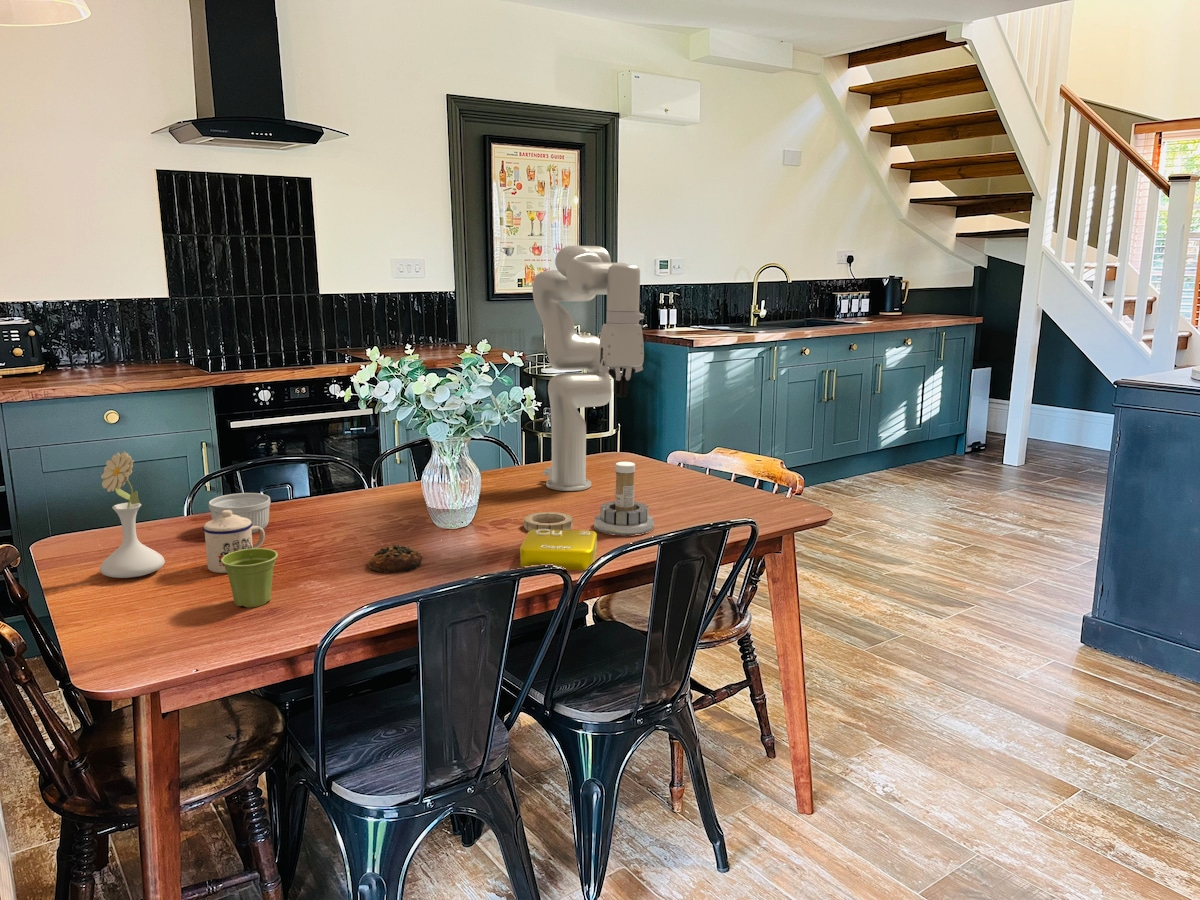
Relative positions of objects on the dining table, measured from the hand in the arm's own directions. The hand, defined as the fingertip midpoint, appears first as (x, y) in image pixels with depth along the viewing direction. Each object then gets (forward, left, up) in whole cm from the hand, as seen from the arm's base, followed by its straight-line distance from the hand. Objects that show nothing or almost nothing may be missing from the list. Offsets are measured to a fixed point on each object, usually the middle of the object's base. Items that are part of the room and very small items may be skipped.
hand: (620, 396), depth 210 cm
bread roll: (-14, -57, -31) cm, 66 cm away
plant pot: (-17, -87, -30) cm, 93 cm away
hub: (+6, -6, -30) cm, 31 cm away
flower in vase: (-48, -94, -30) cm, 110 cm away
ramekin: (-61, -64, -30) cm, 93 cm away
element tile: (+9, -32, -31) cm, 45 cm away
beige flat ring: (-8, -17, -30) cm, 35 cm away
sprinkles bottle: (+6, -5, -28) cm, 29 cm away
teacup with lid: (-38, -78, -30) cm, 92 cm away
